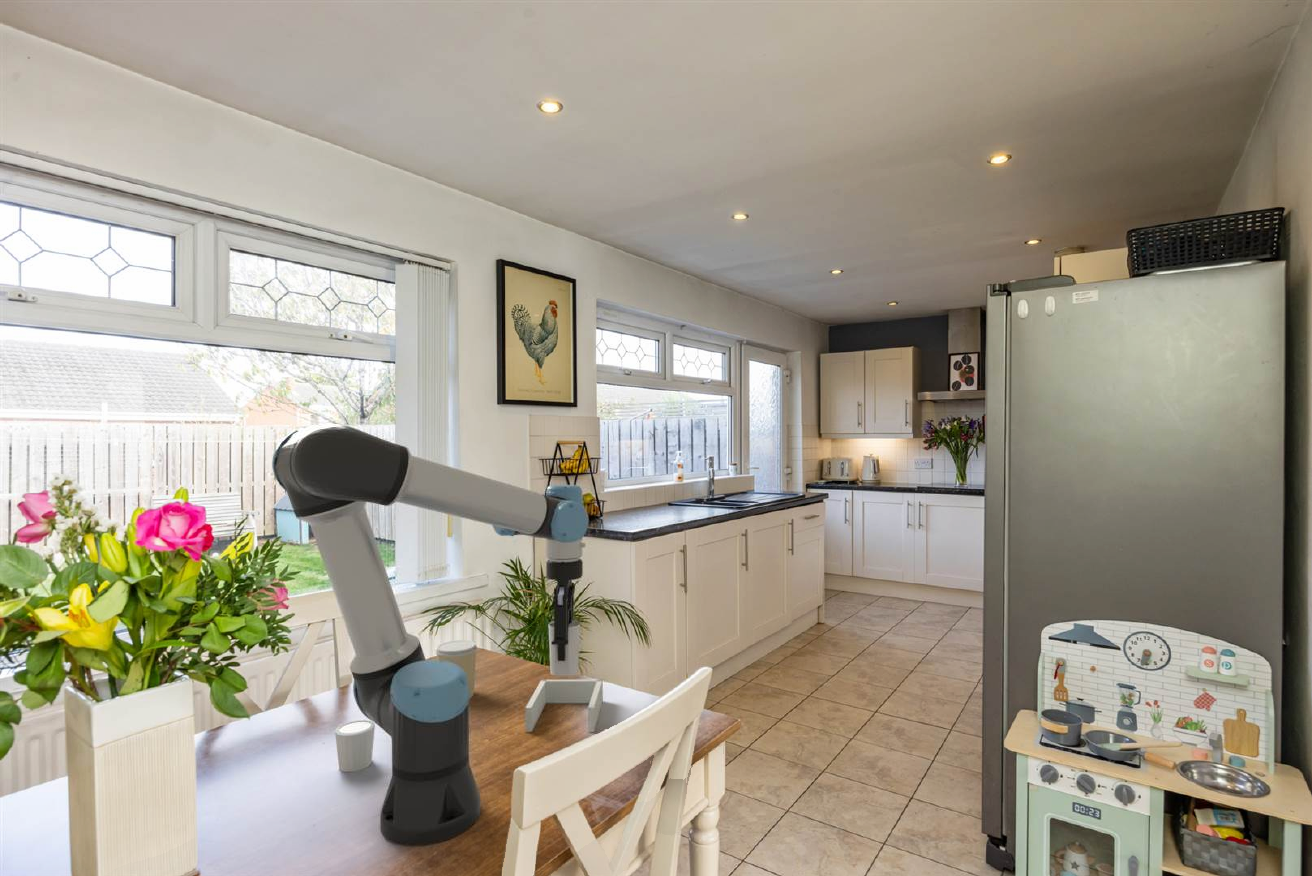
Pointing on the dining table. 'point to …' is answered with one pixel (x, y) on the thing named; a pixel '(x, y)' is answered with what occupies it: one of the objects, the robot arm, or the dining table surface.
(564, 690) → the u-shaped frame
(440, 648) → the coffee cup
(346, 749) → the white tapered cup
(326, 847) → the dining table surface
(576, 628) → the white cup
